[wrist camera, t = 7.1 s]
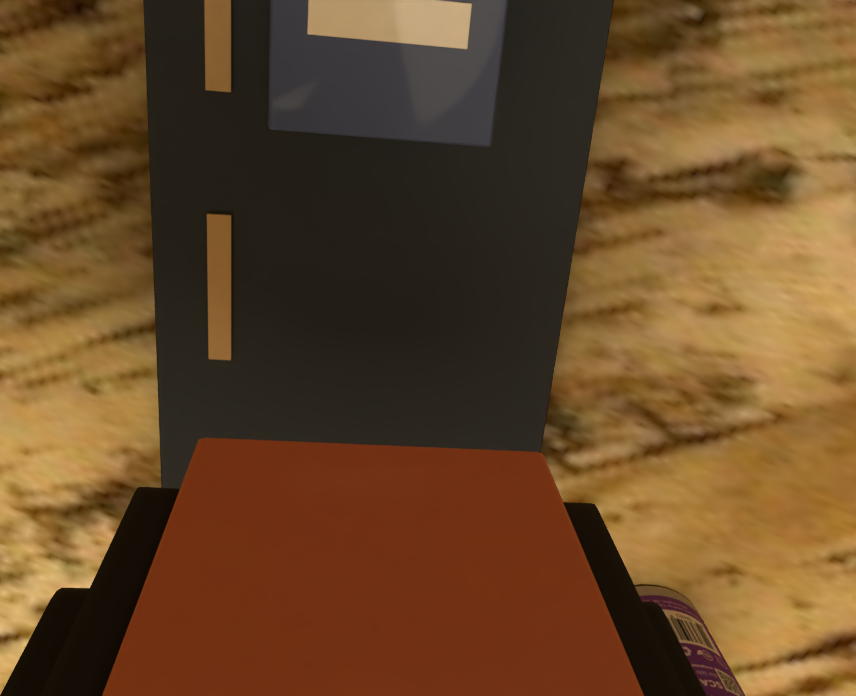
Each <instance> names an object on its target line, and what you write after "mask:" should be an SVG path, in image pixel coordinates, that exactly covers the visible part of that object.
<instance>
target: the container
mask: <svg viewBox="0 0 856 696" xmlns="http://www.w3.org/2000/svg"><path fill="white" fill-rule="evenodd" d="M635 588H636V590H637V592H638V594H639V596H640V598H641V601H649V602H655V603H657V604H658V605H659V606H660V607H661V609H662V610H663V611H664V613H665V615H666V617H667V619H668V621H669V623H670V625H671V627H672V629H673V630H674V632H675V634H676V636H677V638H678V640H679V642H680V644H681V646H682V648H683V650H684V652H685V654H686V656H687V658H688V660H689V662H690V664H691V666H692V668H693V670H694V672H695V674H696V676H697V678H698V680H699V682H700V684H701V686H702V687H703V689H704V691H705V693H706V695H707V696H745V694H744V692H743V690H742V689H741V687H740V685H739V683H738V682H737V680H736V678H735V676H734V675H733V673H732V671H731V669H730V668H729V666H728V664H727V662H726V661H725V659H724V657H723V655H722V653H721V652H720V650H719V648H718V646H717V645H716V643H715V641H714V639H713V638H712V636H711V634H710V632H709V631H708V629H707V627H706V625H705V624H704V622H703V620H702V619H701V617H700V615H699V614H698V612H697V610H696V609H695V607H694V606H693V605H692V603H691V602H690V601H689V600H688V599H686V598H685V597H684V596H682V595H680V594H679V593H677V592H675V591H672V590H670V589H666V588H662V587H657V586H636V587H635Z"/></svg>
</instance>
